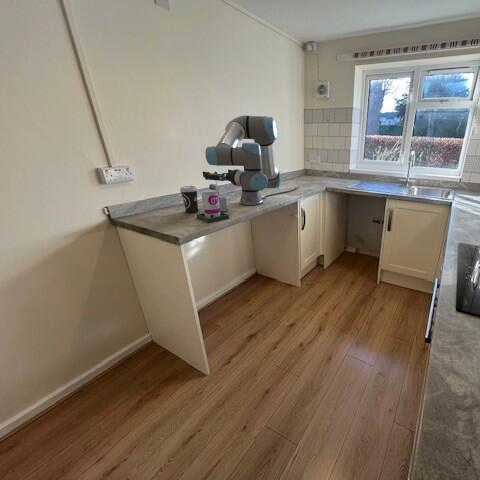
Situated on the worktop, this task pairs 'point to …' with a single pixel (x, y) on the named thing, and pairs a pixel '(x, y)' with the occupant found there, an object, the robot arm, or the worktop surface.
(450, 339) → the worktop surface
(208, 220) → the base pad
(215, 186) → the dark grey tall piece
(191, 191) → the coffee cup
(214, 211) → the supplement can
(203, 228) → the worktop surface
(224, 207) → the medicine box
